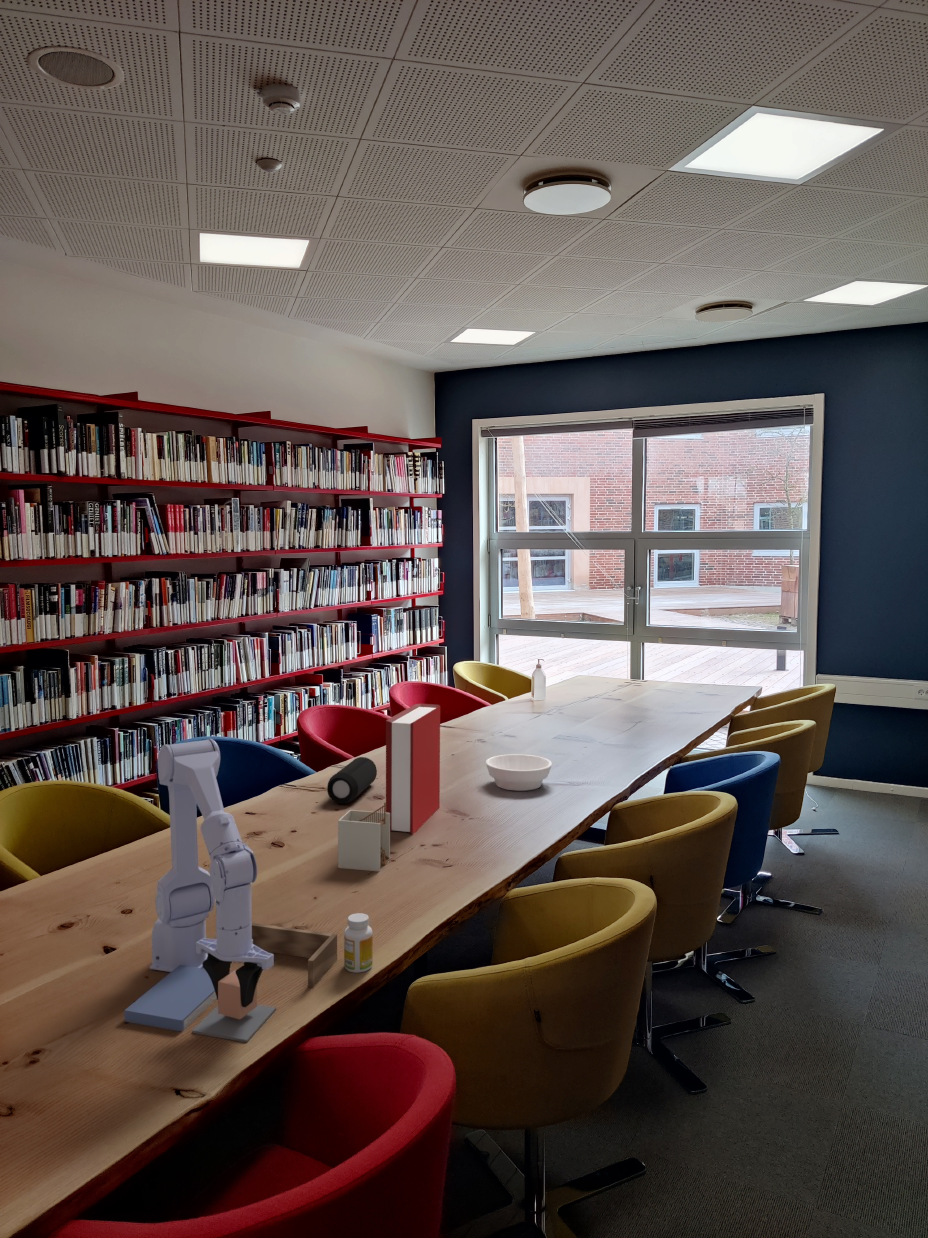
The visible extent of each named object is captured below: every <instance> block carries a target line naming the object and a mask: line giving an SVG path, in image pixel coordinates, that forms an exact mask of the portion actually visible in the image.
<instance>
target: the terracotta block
mask: <svg viewBox="0 0 928 1238" xmlns="http://www.w3.org/2000/svg"><path fill="white" fill-rule="evenodd" d="M236 970H237V969H234V970H233V971H231V972H230V974H229V975H227V976H226V977H224V978H223V979H221V980H220V981H218V1000H217V1006H218V1014H222V1015H225V1016H229V1017H233V1018H236V1019H241V1018H243V1017H244V1016H245V1015H247V1014H248V1013H249V1012H250V1011H252V1010H253V1009H254V1008H256V1007H257V1005H258V1002H257V1001H258V998H257V997H258V992H257V991H258V988H257V987H258V985H257V986H256V989H255V993H254V997H253V1002H252V1003H251V1004H249V1005H248V1006H247V1007H242V1004H241V991H240V984H239V980H238V977H237V975H236Z"/></svg>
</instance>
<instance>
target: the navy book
mask: <svg viewBox="0 0 928 1238" xmlns="http://www.w3.org/2000/svg"><path fill="white" fill-rule="evenodd" d="M230 973H231V972H230ZM230 973H229V974H230ZM216 1000H217V996H216V993H215V990H214V987H213V984H212V981H211V979H210V977H209V975H208V973H207V972H206V970H205V969H204V968H197V967H190V966H184V965H179V966H178V967H177V968H175V969H174V970H173V971H172V972H168V974H167V975H166V976H164V977H163V978H162V979H161V980H160V981H158V982H157V983H156V984H155V985H154V986H152V987H151V988H150V989H148V990H147V991H146V992H145V993H143V994H142V995H141V996H140V997H139V998H138V999H137V1000H135V1001H133V1003H131V1004H130V1005H129V1006H128V1007H127V1008H126V1009H124V1022H127V1023H131V1024H138V1025H142V1026H143V1025H144V1026H149V1027H155V1028H160V1029H166V1030H170V1031H171V1030H172V1031H176V1032H177V1031H178V1032H184V1031H185V1030H186V1029H187V1028H188V1027H189V1026H190V1025H191V1024H193V1022H194V1021H195V1020H196V1019H197V1018H198V1017H199V1016H201V1015H202V1014H203V1013H204V1011H206V1010H207V1009H208V1008H209V1007H210V1006H211V1005H212V1004H213V1003H214V1002H215V1001H216Z"/></svg>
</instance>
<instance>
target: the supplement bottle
mask: <svg viewBox="0 0 928 1238" xmlns="http://www.w3.org/2000/svg"><path fill="white" fill-rule="evenodd" d="M369 923H370V918H369V915H368V914H366V913H363V912H361V913H360V912H356V913H352V914H350V915H348V917H347V927H346V928H345V929H344V932H343V945H344V946H343V948H344V949H343V950H344V951H343V953H344V954H343V961H344V962H343V964H344V965H343V966H344V969H345V970H346V971H348V972H349V973H358V974H359V973H364V972H367V971H369V970H371V968H372V967H373V958H374V957H373V956H374V955H373V954H374V953H373V938H374V937H373V929H372V927H371V926H370V925H369Z"/></svg>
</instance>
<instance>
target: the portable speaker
mask: <svg viewBox="0 0 928 1238" xmlns="http://www.w3.org/2000/svg"><path fill="white" fill-rule="evenodd" d="M377 775H378V769H377V766H376V764H375V762H374V761H373V760H372V759H370V758H368V757H366V756H365V757H364V756H358V757H356V758H354V759H353V760H352V761H351V762H349V763H348V764H346V765H345V766H344V767H343V768H341V769H340V770H339V771H337V772H336V773H334V774H333V775H332V776H331V777H330V778H329V780H328V782H327V788H326V791H327V795H328V798H330V799H331V800H332V802H334V803H337V804H342V805H345V804H349V803H351V802H352V801H354V799H356V798H357V797H358V796H360V794H361V793H362V792H364V791H365V790H366V789H368V787H369V786H370V785H372V783H374V781H375V780H376V779H377Z"/></svg>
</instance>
